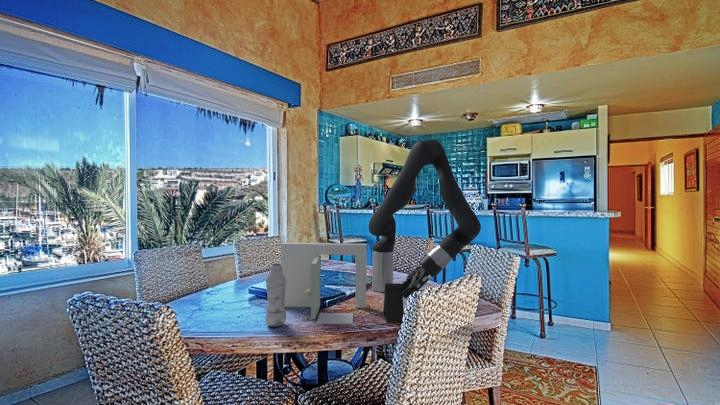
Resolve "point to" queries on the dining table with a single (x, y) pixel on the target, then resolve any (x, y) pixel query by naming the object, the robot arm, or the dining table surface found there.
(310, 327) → the dining table surface
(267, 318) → the plastic bottle
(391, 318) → the black rectangular block
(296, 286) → the door frame
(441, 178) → the robot arm
